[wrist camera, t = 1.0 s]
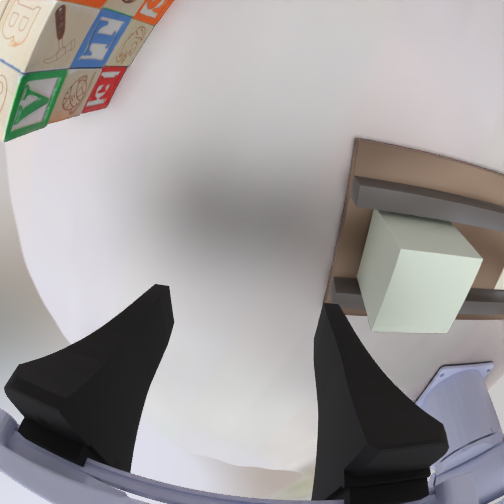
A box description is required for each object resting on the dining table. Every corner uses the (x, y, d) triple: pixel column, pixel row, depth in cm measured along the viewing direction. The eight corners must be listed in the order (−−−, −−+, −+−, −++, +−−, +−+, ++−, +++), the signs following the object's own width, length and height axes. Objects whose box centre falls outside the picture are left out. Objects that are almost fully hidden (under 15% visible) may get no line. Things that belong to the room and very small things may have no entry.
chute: (525, 312, 21) (542, 339, 17) (323, 304, 22) (327, 344, 19) (572, 202, 15) (599, 223, 11) (355, 138, 16) (373, 153, 13)
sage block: (422, 282, 19) (447, 332, 15) (356, 276, 19) (371, 331, 15) (445, 216, 16) (483, 259, 12) (374, 204, 17) (400, 249, 12)
